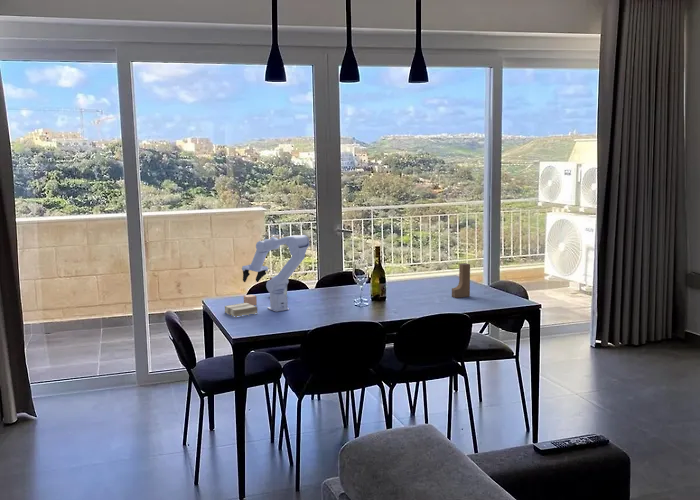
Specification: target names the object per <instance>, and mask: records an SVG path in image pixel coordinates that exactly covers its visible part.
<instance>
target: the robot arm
mask: <svg viewBox="0 0 700 500" xmlns="http://www.w3.org/2000/svg"><path fill="white" fill-rule="evenodd" d="M283 245H286V246H287V247H288V250H289V254H290V255H291V256H290V258H289V260H288V261H287V262H286V263H285V265H284V266H283V267H282V268H281V270H280V271H279V273H277V275H274V276H275V277H273V276H272V277H273V278H272V279H271V280H270V279H269V280H267V281H266V285H265V287H266V290H267V291H268V293H269V301H270V303H269V306H268V307H266V308H267V310H270V311H273V312H283V311H287V310H288V311H289V310H290V308H289V307H288V305H289V304H288V296H287V295H285V294H284V291H285V289H286V288H287V289H288V284H289V282H290V281H289V278H290V277H291V276H292V274H293V273H294V272H295V271H296V269H298V267H299V266H300V264H302V262H303V261H304V259H305V258H306V257H305V256H306V253H307V249H308V248H309V247H310V239H309V237H308V236H307V235H306V234H294V235H288V236H283V237H281V238H278V237H275V236H271V237H270V238H265V239H264V240H259V241H257V242H256V244H255V248H256V249H255V250H256V251H255V253H254V255H253V258H252V260H251V263H250V264H246V265H242V267H241V270H242V282H243V283H246V282H247V280H248V277H249V276H250V275H251V274H250V271H251V272H256V273H257V274H256V277H255V282H256V283H259V282H260V280H261V279H262V278H263V277H265V276H266V275H267V272H268V271H269V266H267V265H264V262H265V259H266V257H267V255H268V254H269V252H271V251H273V250H278V249H279V248H280V247H281V246H283Z"/></svg>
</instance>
